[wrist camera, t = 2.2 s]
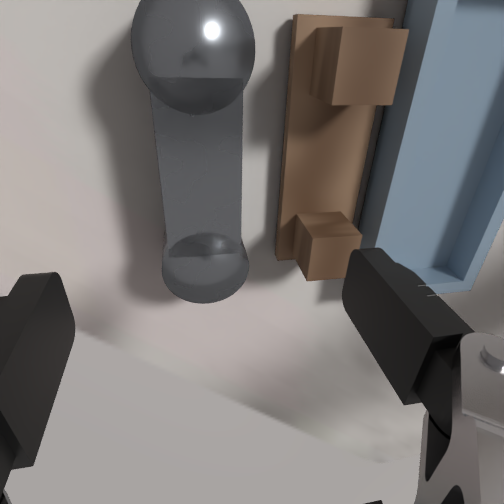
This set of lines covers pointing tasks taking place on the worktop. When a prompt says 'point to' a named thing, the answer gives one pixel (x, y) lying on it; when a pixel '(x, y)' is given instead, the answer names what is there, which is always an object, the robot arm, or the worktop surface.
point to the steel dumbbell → (198, 136)
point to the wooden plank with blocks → (331, 134)
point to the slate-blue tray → (442, 146)
